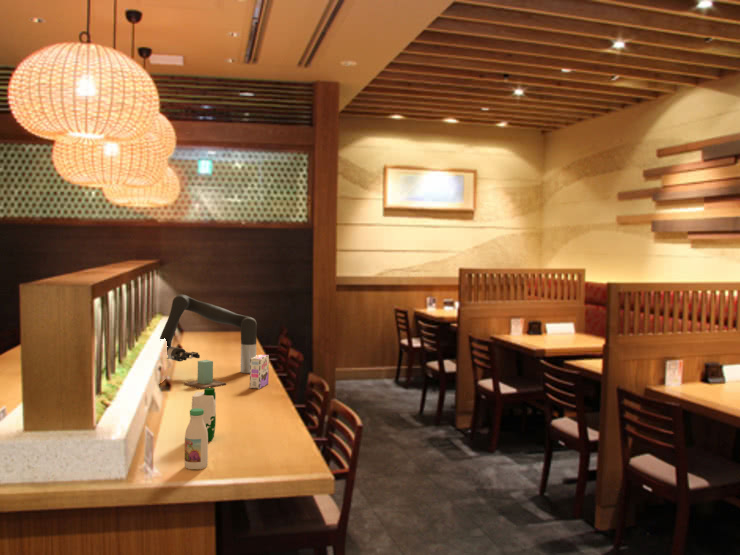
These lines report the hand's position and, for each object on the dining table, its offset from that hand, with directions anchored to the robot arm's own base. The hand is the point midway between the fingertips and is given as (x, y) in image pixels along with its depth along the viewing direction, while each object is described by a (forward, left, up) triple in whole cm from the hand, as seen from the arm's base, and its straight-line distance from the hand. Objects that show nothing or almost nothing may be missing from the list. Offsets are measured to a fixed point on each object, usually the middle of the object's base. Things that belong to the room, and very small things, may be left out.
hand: (192, 357), depth 356 cm
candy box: (-18, +37, -13) cm, 43 cm away
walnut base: (+1, +14, -13) cm, 19 cm away
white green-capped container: (+58, +96, -13) cm, 113 cm away
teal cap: (+1, +14, -12) cm, 18 cm away
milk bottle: (+78, +121, -13) cm, 145 cm away
